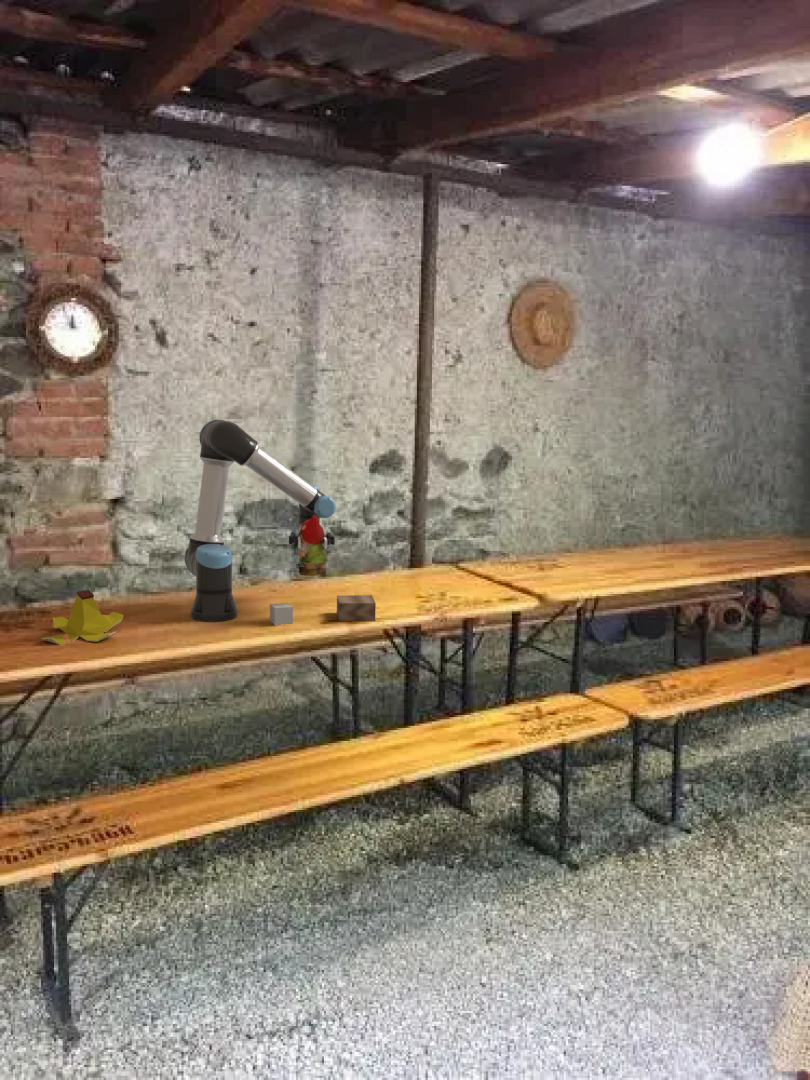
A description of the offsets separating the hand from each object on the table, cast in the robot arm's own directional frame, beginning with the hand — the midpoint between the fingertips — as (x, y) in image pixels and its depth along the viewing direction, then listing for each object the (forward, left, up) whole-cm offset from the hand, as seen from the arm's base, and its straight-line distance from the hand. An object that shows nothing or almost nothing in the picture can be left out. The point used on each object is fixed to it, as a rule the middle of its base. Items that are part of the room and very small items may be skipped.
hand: (312, 544), depth 317 cm
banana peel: (-70, -13, -26) cm, 76 cm away
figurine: (0, +5, -11) cm, 12 cm away
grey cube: (-10, -1, -26) cm, 28 cm away
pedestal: (+15, +7, -26) cm, 31 cm away
